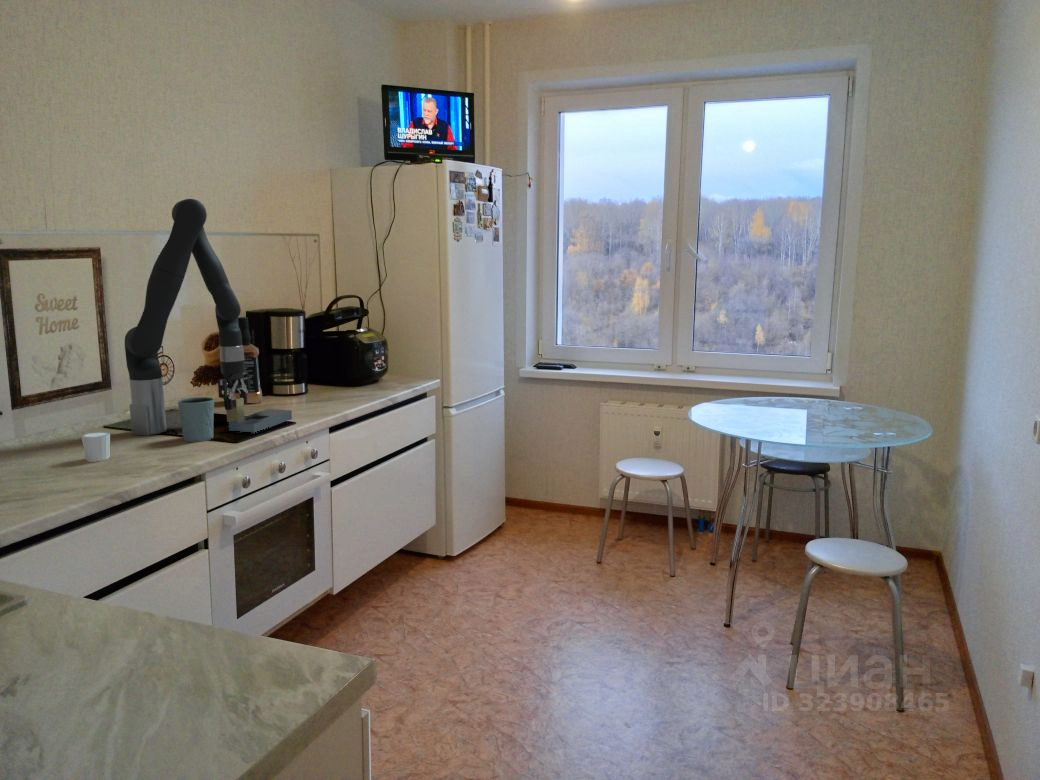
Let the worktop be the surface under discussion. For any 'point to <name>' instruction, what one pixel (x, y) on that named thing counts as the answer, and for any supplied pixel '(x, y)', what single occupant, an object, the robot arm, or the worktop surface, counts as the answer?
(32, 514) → the worktop surface
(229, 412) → the pale green tall block
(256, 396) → the whiskey bottle
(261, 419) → the rail plate
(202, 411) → the blue-green cup
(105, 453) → the white short cylinder
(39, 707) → the worktop surface
